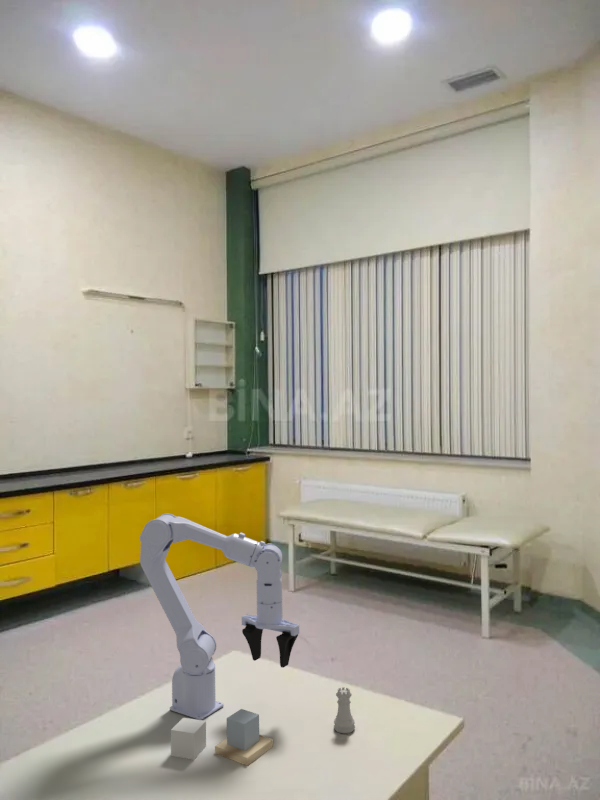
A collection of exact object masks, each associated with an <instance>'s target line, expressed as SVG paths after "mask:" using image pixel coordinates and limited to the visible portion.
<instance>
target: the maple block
mask: <svg viewBox="0 0 600 800" xmlns="http://www.w3.org/2000/svg"><path fill="white" fill-rule="evenodd" d="M273 742H274V739H272V738H270V737H267V736H264V735H261V734H259V741H258V742H257V743H255V744H254V745H252V746H251V747H250V748H248V749H247V750H245V751H244V750H241V749H238V748H236V747H233V746H230V745H228V744H227V738H225V739H223V740H221V742H219V743H218V744H216V745H215V746H214V754H216V755H219V756H221V757H224V758H227V759H230V760H232V761H235V762H237V763H240V764H243V765H245V766H249V765H250V764H252V763H253V762H254V761H256V760H257V759H258V758H260V757H261V756H262V755H263V754H264V753H266V752H267V751H269V750H270V749H271V748H273V745H274V743H273Z"/></svg>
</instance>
